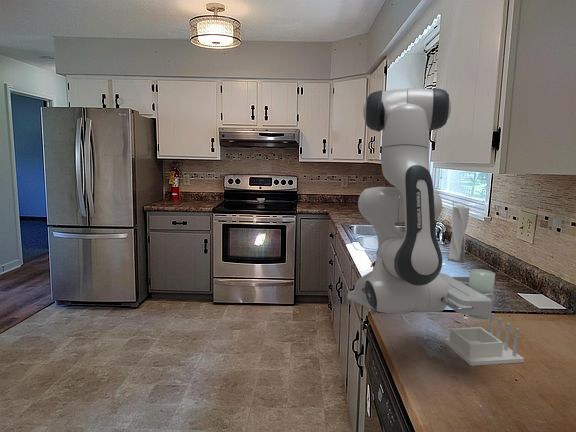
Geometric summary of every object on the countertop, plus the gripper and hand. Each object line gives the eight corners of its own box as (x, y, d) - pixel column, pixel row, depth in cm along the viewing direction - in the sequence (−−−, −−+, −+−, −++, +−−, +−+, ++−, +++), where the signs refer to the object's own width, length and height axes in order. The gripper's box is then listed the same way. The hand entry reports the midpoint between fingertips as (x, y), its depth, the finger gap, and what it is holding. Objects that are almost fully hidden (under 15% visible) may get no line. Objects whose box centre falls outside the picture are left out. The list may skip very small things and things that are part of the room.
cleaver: (421, 288, 146) (421, 283, 145) (407, 280, 155) (408, 275, 155) (488, 285, 152) (488, 279, 152) (471, 277, 162) (471, 272, 161)
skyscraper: (444, 259, 187) (449, 202, 182) (450, 256, 193) (455, 200, 188) (462, 263, 181) (468, 203, 177) (467, 259, 187) (473, 202, 183)
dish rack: (470, 365, 91) (473, 334, 90) (443, 341, 103) (445, 313, 102) (523, 362, 93) (527, 331, 92) (490, 339, 105) (493, 311, 104)
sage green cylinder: (463, 314, 96) (467, 272, 94) (470, 308, 100) (474, 267, 98) (486, 321, 92) (491, 277, 91) (493, 314, 97) (497, 272, 95)
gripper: (457, 295, 83) (515, 293, 85) (413, 268, 103) (461, 267, 105) (454, 323, 84) (512, 321, 86) (411, 291, 104) (459, 289, 106)
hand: (483, 291), depth 96 cm, fingers closed on sage green cylinder, 5 cm apart
